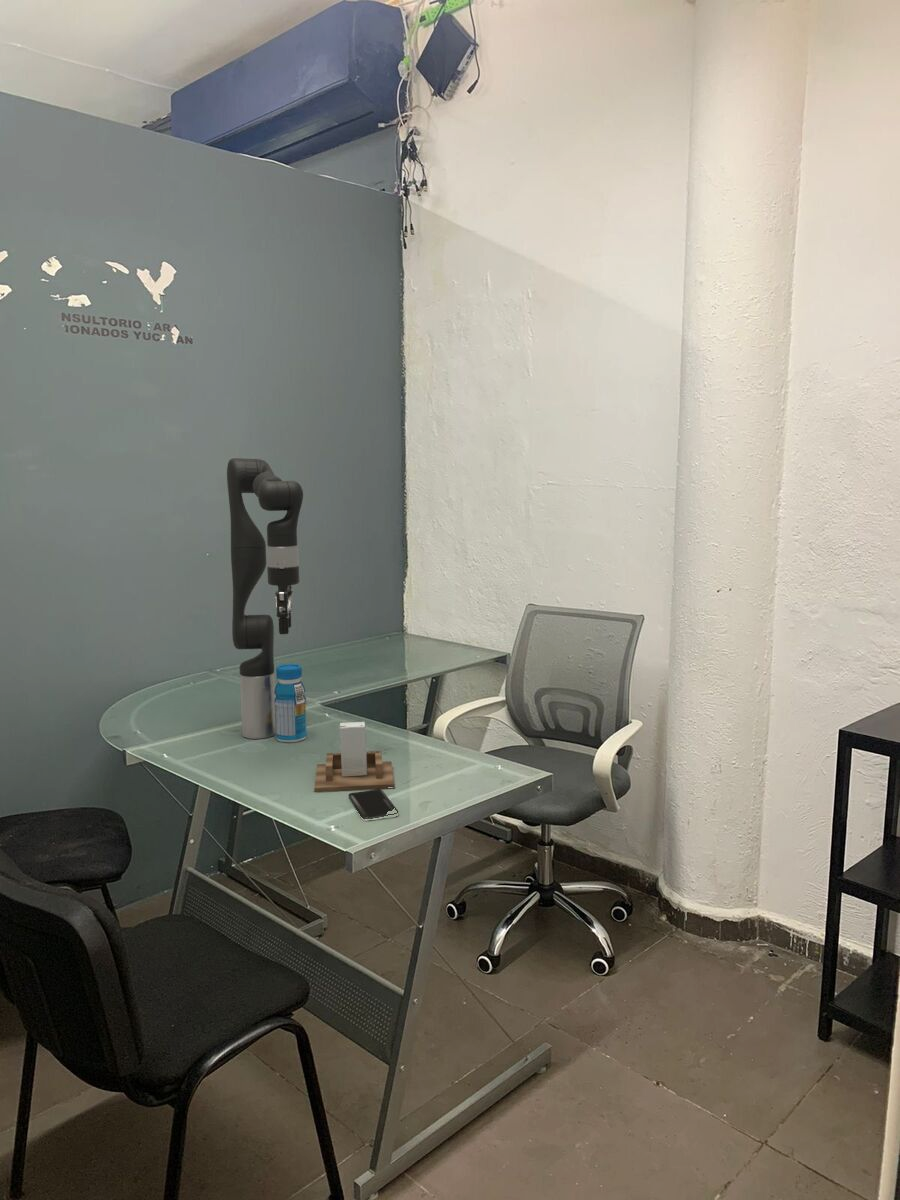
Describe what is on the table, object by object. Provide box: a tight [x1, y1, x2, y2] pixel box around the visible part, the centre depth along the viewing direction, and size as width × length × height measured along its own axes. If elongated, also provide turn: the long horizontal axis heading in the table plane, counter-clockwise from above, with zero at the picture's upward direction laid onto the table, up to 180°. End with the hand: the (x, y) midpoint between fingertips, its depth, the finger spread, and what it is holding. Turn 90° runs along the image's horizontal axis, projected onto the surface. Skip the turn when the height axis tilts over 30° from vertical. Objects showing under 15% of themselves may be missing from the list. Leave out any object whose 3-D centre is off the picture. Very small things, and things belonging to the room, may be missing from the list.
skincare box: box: [339, 721, 367, 777], centre depth 202 cm, size 6×4×12 cm
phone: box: [348, 789, 399, 819], centre depth 186 cm, size 8×1×15 cm
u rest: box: [313, 750, 395, 793], centre depth 203 cm, size 16×18×4 cm
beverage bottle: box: [274, 663, 307, 743], centre depth 233 cm, size 8×8×20 cm
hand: (285, 630), depth 211 cm, fingers open, 8 cm apart
